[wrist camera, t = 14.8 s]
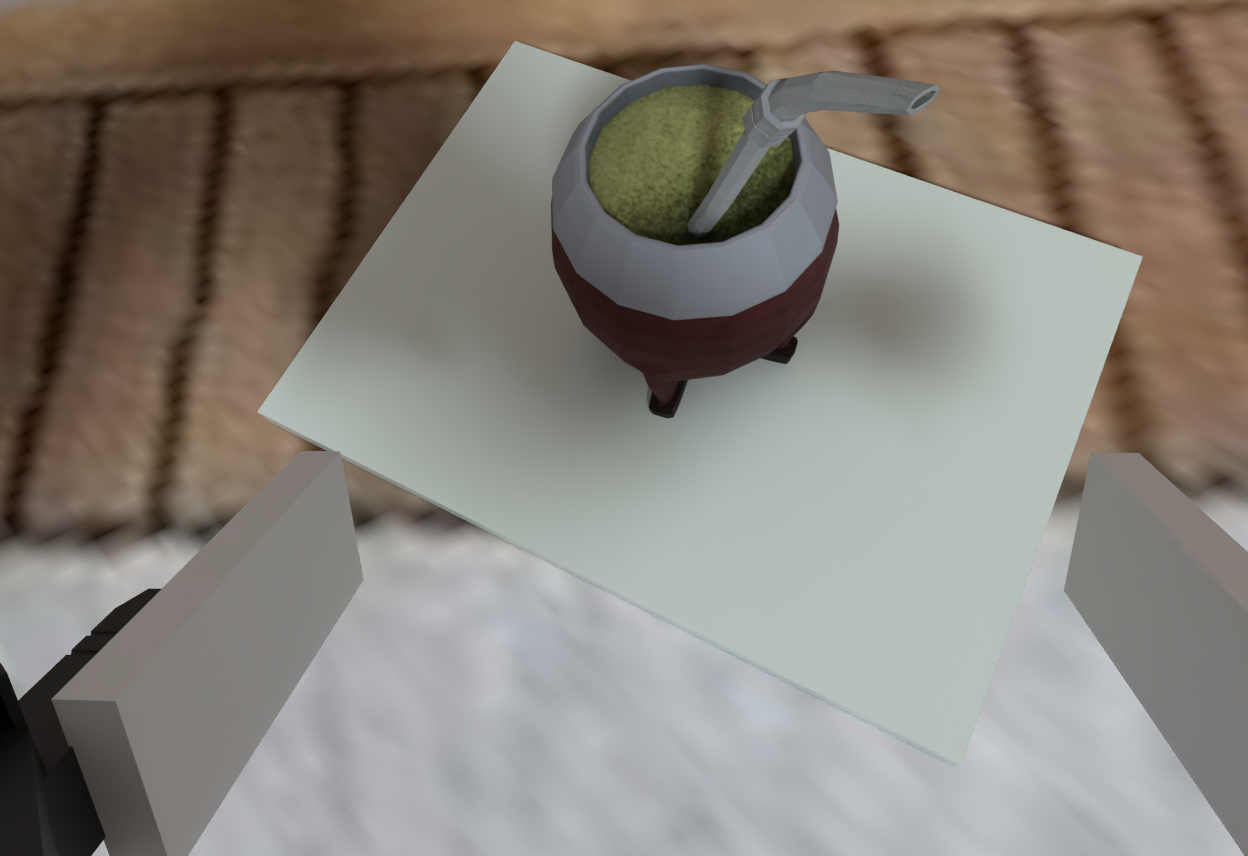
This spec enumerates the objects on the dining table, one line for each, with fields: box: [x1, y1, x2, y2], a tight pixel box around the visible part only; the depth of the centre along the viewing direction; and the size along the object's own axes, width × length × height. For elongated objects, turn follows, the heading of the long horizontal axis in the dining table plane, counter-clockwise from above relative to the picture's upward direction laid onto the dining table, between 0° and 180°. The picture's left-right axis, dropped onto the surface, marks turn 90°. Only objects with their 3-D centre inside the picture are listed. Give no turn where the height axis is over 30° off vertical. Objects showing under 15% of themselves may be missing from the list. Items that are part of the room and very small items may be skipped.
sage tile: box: [258, 41, 1142, 765], centre depth 27 cm, size 22×16×1 cm
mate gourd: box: [551, 64, 940, 419], centre depth 19 cm, size 8×8×15 cm
